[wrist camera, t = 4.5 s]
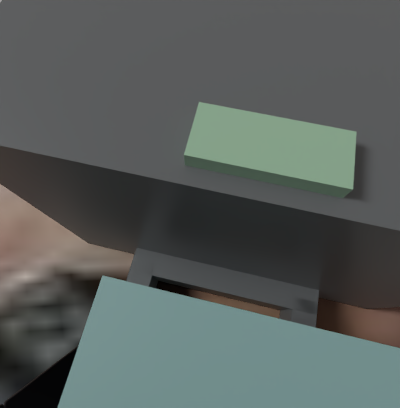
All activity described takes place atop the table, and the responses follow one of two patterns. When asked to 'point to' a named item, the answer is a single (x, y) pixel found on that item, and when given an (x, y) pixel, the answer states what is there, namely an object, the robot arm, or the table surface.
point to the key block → (218, 358)
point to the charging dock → (214, 140)
